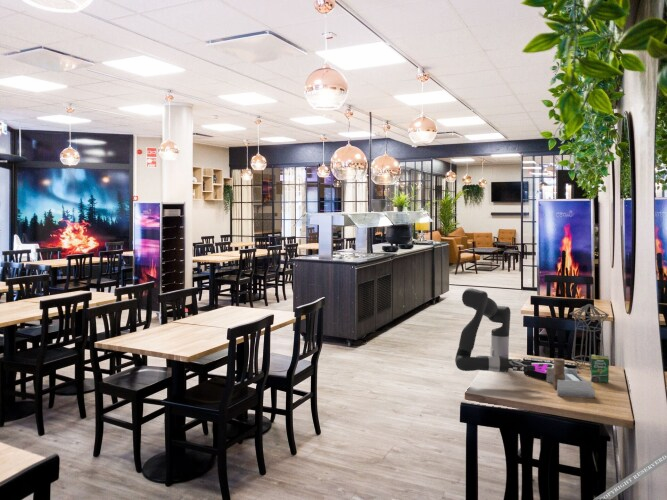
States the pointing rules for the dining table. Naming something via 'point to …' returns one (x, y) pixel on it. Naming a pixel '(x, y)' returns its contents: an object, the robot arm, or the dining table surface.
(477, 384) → the dining table surface
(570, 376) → the offcut stack
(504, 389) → the dining table surface
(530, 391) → the dining table surface
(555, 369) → the walnut board
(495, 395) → the dining table surface
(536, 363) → the sign
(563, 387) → the rack
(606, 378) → the coffee box
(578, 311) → the geometric lantern
